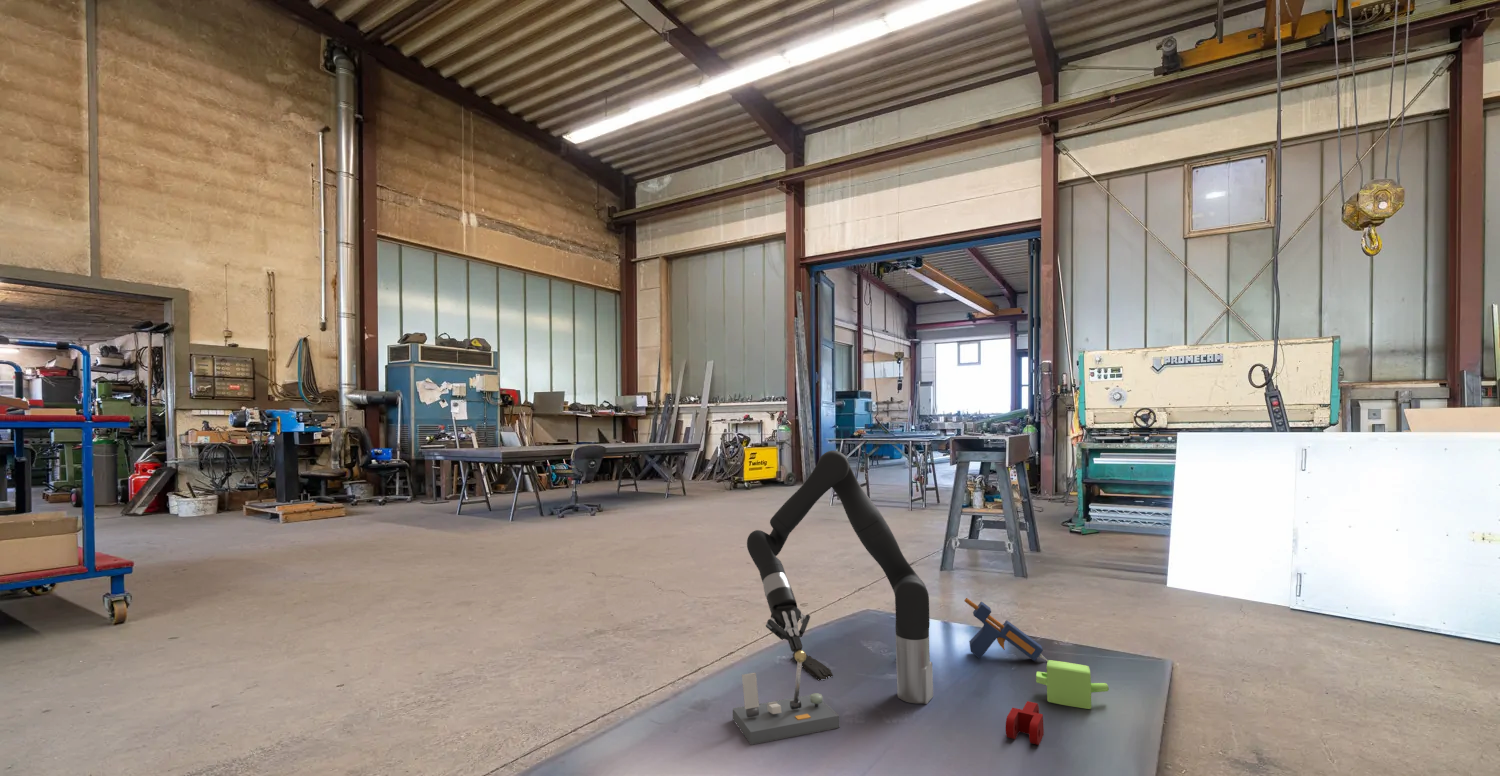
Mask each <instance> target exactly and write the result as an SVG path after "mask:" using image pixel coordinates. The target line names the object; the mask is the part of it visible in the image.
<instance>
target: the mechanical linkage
mask: <svg viewBox="0 0 1500 776" xmlns="http://www.w3.org/2000/svg"><path fill="white" fill-rule="evenodd" d="M1044 731H1045V730H1044V714H1043V713H1040V707H1039V703H1037V702H1032V701H1026V702H1025V704H1024V706H1023V708H1017V707H1011V710H1010V711H1009V713H1008V714H1007V715H1006V720H1005V736H1006V738H1008V739H1011V740H1016V739H1017V737H1018V735H1019V733H1023V734H1027V735H1029V736H1028V740H1029V743H1030V744H1032V745H1037V746H1040V745H1041V741H1042V740H1043V737H1044V733H1045V732H1044Z"/></svg>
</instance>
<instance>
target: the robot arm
mask: <svg viewBox="0 0 1500 776" xmlns="http://www.w3.org/2000/svg"><path fill="white" fill-rule="evenodd" d="M830 489H832V490H833V491H834V492H835V494H836V495H837V497H838V498H839V500H840V502H841V504H842V507H843V509H844V512H845V514H846V516H847V519H848V521H849V522H850V525H851V527H852V529H853V531H854V532H855V534H856V536H857V538H858V539H859V541H860V542H861V544H862V545H863V547H864V548H865V549H866V551H867V552H868V553H869V555H870V556H871V557H872V558H873V560H874V561H875V562H876V563H877V564H878V565H879V566H880V567H881V569H882V571H883V572H884V574H885V576H886V578H887V580H888V583H889V584H890V586H891V588H892V591H893V593H894V604H895V605H894V607H895V654H896V655H895V657H896V662H895V663H896V690H897V691H896V693H897V698H898V699H900V700H901V701H903V702H906V703H909V704H925V705H927V704H928V703H929V702H930V701H931V699H933V697H934V681H933V680H934V679H933V678H934V677H933V673H934V672H933V662H932V661H930V660H931V659H930V658H931V655H930V625H931V624H930V598H929V597H930V595H929V592H928V589H927V586H926V584H925V582H924V581H923V580H922V579H921V578H920V576H919V575H918V574H917V573H916V571H914V569H913V568H912V566H911V564H910V563H909V562H908V561H907V559H906V557H905V556H904V555H903V552H902V550H901V549H900V546H899V544H898V542H897V539H896V537H895V536H894V533H893V532H892V530H891V528H890V527H889V524H888V523H887V521H886V520H885V518H884V516H883V515H882V514H881V512H880V510H879V509H878V508H877V506H876V505H875V503H874V502H873V501H872V499H871V498H870V497H869V496H868V495H867V493H866V492H865V490H864V489H863V488H862V486H861V485H860V483H859V481H858V479H857V477H856V475H855V473H854V471H853V469H852V466H851V464H850V461H849V460H848V458H847V456H846V455H845V454H844V453H842V452H841V451H838V450H828V451H826V452H824V453H823V454H822V455H821V456H820V457H819V459H818V460H817V464H816V465H815V468H813V471H812V472H811V473H810V475H809V476H808V478H807V479H806V480H805V481H804V483H802V485H801V486H800V487H799V488H798V489H797V490H796V491H795V492H794V493H793V494H792V495H791V496H790V497H789V498H788V499H787V500H786V501H785V502H784V503H783V504H782V506H780V508H779V509H778V510H777V511H776V512H775V513H774V515H773V516H772V517H771V518H770V521H769V525H770V527H772V530H771V532H770V534H768V533H767V532H765V531H763V530H759V529H755V530H754V531H751V532H750V533H749V535H748V536H747V540H746V547H747V551H748V553H749V555H750V558H751V559H752V561H753V563H754V565H755V566H756V568H757V569H758V571H759V575H760V579H761V582H762V584H763V585H762V586H763V592H764V596H765V598H766V602H767V605H768V608H769V610H770V618H769V619H767V622H766V624H765V628H766V629H768V630H769V631H770V632H771V633H773V634H774V635H775V636H776V637H778V638H779V639H780V640H781V641H782V640H783V641H784V640H787V641H788V645H789V648H790V651H791V652H792V653H794V654H795V653H796V651H798V650H803V644H802V640H801V638H803V635H804V633H805V631H806V629H807V627H808V624H809V622H810V619H811V615H809V614H803V613H802V611H801V609H800V608H799V607H798V603H797V600H796V597H795V594H794V591H793V589H792V586H791V583H790V581H789V579H788V577H787V575H786V572H785V568H784V565H783V563H782V561H781V560H780V559H779V558H778V557H777V556H779V554H780V552H781V551H782V549H783V547H784V545H785V543H786V541H787V540H788V537H789V535H790V534H791V533H792V532H793V530H794V529H795V528H796V527H797V526H798V525H799V524H800V523H801V522H802V520H803V519H804V518H805V517H806V515H808V513H809V511H811V509H812V508H813V507H814V505H815V504H816V503H817V502H818V501H819V499H820V498H822V497H823V495H825V494H826V492H828V491H829V490H830ZM799 621H800V624H801V626H800V629H799Z"/></svg>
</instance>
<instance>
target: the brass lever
mask: <svg viewBox="0 0 1500 776" xmlns="http://www.w3.org/2000/svg"><path fill="white" fill-rule="evenodd" d="M806 654H807V653H806V652H805V650H803V649H801V650H798V651H796V653H795V658H794V660H795V661H796V662H797V663H796V673H795V682H794V683H795V686H794V694H793V698H794V701H790V707H791V709H798V708H801V701H800V700H798V699H799V697H800V688H801V687H800V686H801V679H802V678H801V677H802V668H803V667H802V662H804V661H805V659H806Z"/></svg>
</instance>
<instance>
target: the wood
mask: <svg viewBox="0 0 1500 776" xmlns="http://www.w3.org/2000/svg"><path fill="white" fill-rule="evenodd" d="M792 657H793V658H794V659H795V654H794V652H792ZM802 666H803V667H804V668H803V667H802V668H803V669H805V670H806V671H807V672H809V673H810V674H811V675H812V674H813V675H814V676H813V675H812V676H813V677H815V678H816V677H817V678H818V679H819V680H821V679H826V677H827V679H829V678H828V676H830V677H831V676H834V675H833V672H832V670H831V669H830V668H829V667H828V666H826V665H824V664H823V662H820V661H818V660H817V659H816V658H813V657H812V656H810V655H808V654H807V653H806V659H805V661H804V662H802ZM827 667H828V668H827ZM817 678H816V679H817ZM818 679H817V680H818ZM819 680H818V681H819Z"/></svg>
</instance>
